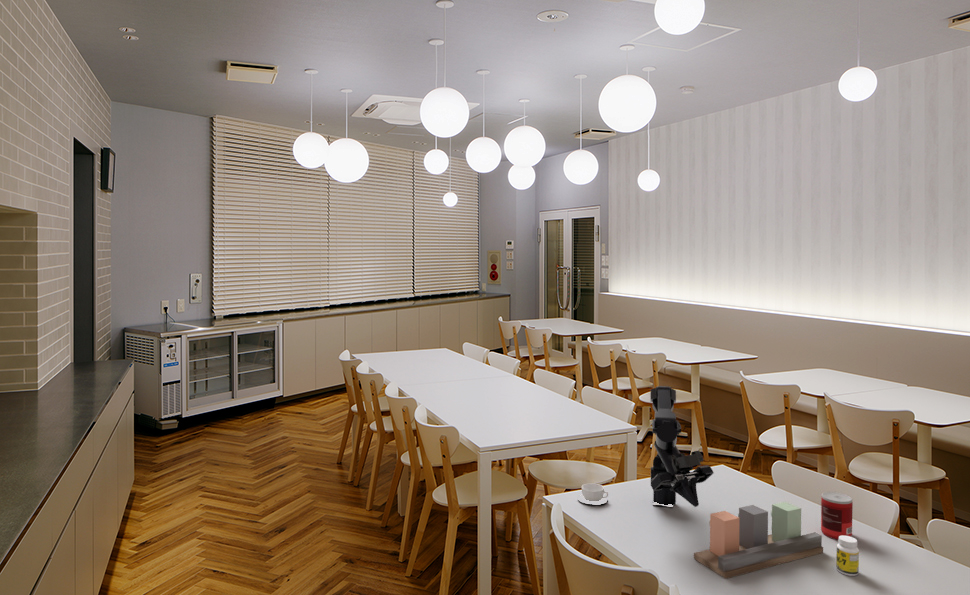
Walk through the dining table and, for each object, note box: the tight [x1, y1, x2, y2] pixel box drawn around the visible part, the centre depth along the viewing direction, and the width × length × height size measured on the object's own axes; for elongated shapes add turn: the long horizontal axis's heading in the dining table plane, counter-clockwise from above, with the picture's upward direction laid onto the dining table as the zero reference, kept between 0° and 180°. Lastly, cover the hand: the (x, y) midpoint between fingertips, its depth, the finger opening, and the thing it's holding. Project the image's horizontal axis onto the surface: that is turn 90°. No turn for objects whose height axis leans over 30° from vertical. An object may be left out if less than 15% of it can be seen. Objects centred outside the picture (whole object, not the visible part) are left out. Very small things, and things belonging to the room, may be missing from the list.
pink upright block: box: [709, 510, 739, 556], centre depth 152 cm, size 6×5×10 cm
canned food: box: [820, 491, 854, 541], centre depth 166 cm, size 8×8×11 cm
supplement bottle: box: [835, 535, 860, 577], centre depth 145 cm, size 5×5×8 cm
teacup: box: [581, 482, 609, 501], centre depth 193 cm, size 10×10×5 cm
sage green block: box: [770, 501, 802, 542], centre depth 158 cm, size 6×5×10 cm
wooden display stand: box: [693, 532, 824, 580], centre depth 154 cm, size 11×34×4 cm, turn 112°
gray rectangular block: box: [737, 504, 769, 549], centre depth 156 cm, size 6×5×10 cm
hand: (696, 506), depth 161 cm, fingers closed
